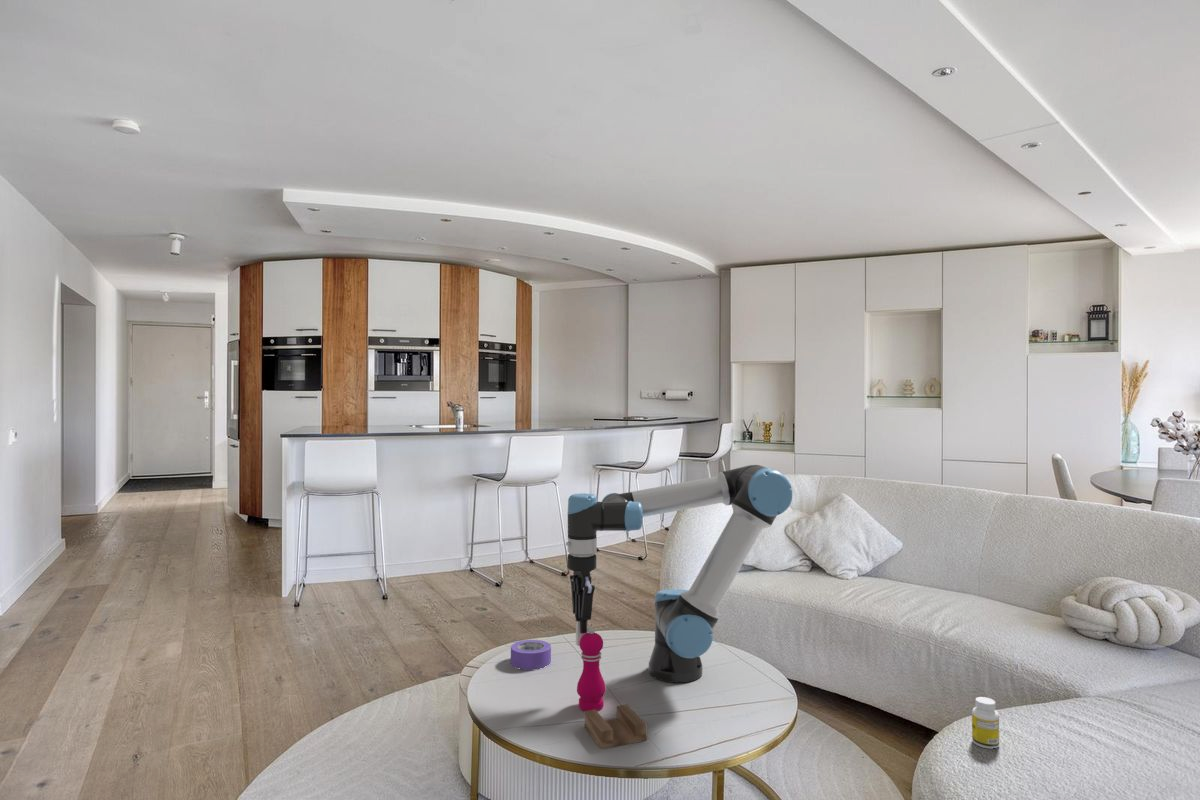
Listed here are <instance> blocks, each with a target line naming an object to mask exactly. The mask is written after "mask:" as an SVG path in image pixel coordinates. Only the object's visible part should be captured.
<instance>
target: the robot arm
mask: <svg viewBox="0 0 1200 800" xmlns="http://www.w3.org/2000/svg"><path fill="white" fill-rule="evenodd" d="M792 500H793V487H792V485H791V482H790V480H789V479H788V478H787V477H786V476H785V475H784V474H783V473H781V472H779V470H776V469H773V468H771V467H766V466H763V465H759V464H750V465H745V466H742V467H736V468H733V469H729V470H724V471H719V472H718V474H717V475H716V476H712V477H705V478H700V479H694V480H687V481H684V482H683V481H682V482H678V483H673V484H667V485H666V484H665V485H662V486H661V485H660V486H657V487H655V486H654V487H651V488H645V489H639V490H634V491H628V492H622V493H617V492H612V493H609V494H607V495H605V496H604V497H603V498H602V500H601V501H598V499H597V496H596V495H595V494H593V493H583V492H582V493H574V494H571V495H570V496H569V497H568V499H567V501H568V502H567V542H566V543H565V545H566V546H567V552H568V554H567V569H568V570H570V571H572V572H573V575H569V581H570V589H571V590H570V591H571V602H572V603H571V604H572V613H573V614H574V617H575V645H576V646H578V647H580V646H579V642H580V639H581V637H582V636H583V635H584V634H586V633H588V628H589V625H588V622H589V621H590V620H592V611H593V604H594V603H593V600H594V593H595V589H596V587H595V585H591V584H592V576H591V572H592V571H594V570H596V568H597V555H596V553H597V548H598V547H597V544H598V542H597V538H598V537H597V532H604V531H605V532H607V531H609V532H610V531H611V532H612V531H615V532H617V531H618V532H623V531H624V532H625V531H626V532H631V531H640V530H641V529H642V527H643V524H644V523H643V520H644V517H651V516H655V515H661V514H667V513H672V512H679V511H683V510H690V509H695V508H700V507H705V506H706V507H707V506H710V505H717V504H723V505H725V506H731V508H732V514H731V515H730V518H729V520H728V521H727V523H726V524H725V527H723V530H722V532H721V533H720V535H719V537H718V539H717V541H716V543H715V544H714V546H713V548H712V549H711V551H710V552H709V555H708V557H707V558H706V560H705V562H704V564H703V565H702V566H701V569H700V571H699V573H698V574H697V576H696V577H695V580H694V581H693V583H692V585H691V587H690V588H689V589H676V588H674V589H662V590H658V591H657V592H656V593H655V595H654V601H653V603H654V646H653V649H652V652H651V656H650V659H649V661H648V673H649V675H650V676H652V677H653V678H654V679H657V680H660V681H663V682H668V683H689V682H693V681H696V680H698V679H700V678H701V677H702V676H703V663H702V659H701V656H702V655H704V654H705V653H707V652H708V650H709V649H711V648H710V647H711V646H712V644H713V639H714V638H713V637H714V636H713V635H714V632H713V630H714V628H715V626H716V625H717V623H718V621H719V619H720V613H719V610H718V609H719V607H720V604H721V603H722V602H723V599H724V598H725V595H726V594H727V592H728V591H729V589H730V587H731V586H732V583H733V582H734V580H735V579H736V576H737V575H738V573H739V571H740V570H741V568H742V565H743V564H744V562H745V560H746V559H747V557H748V555H749V553H750V551H751V550H752V548H753V547H754V545H755V542H756V541H757V539H758V537H759V535H760V533H762V530H763V529H766V528H770V527H771V526H772V525H773V523H774V521H775V519H776V518H777V517H778V516H780V515H781V514H783V513H785V511H787V510H788V508H789V507H790V505H791V503H792Z"/></svg>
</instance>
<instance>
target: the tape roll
mask: <svg viewBox="0 0 1200 800" xmlns="http://www.w3.org/2000/svg"><path fill="white" fill-rule="evenodd" d="M550 663H552V645H551V644H550V643H549V642H548V641H546V640H540V639H525V640H520V641H515V642H514V643H512V644H511V645H510V665H511V667H513V666H514V667H513V668H515V667H516V668H515V669H517V668H520V669H519V670H522V669H524V670H523V671H533V670H532V669H537V670H541V669H540V668H542V669H545V668H546V667H545V666H547V665H549V664H550ZM550 665H551V664H550ZM550 665H549V666H550ZM544 667H545V668H544ZM547 667H548V666H547ZM525 669H526V670H525Z"/></svg>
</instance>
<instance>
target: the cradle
mask: <svg viewBox="0 0 1200 800" xmlns="http://www.w3.org/2000/svg"><path fill="white" fill-rule="evenodd" d="M583 726H584V729H585V730H586V731H587V732H588V735H590V736H591V738H592V739H593V741H595V743H596V744H597V745H598V747H599V748H600V749H602V750H604V749H608V748H614V747H618V746H619V747H620V746H623V745H624V746H625V745H629V744H634V743H639V742H644V741H647V740H648V739H647V738H648V737H647V722H646V721H644V720H643V718H642V717H641V716H640V715H638V714H637V713H636V711H635V710H634V709H633V708H631V706H630V705H628V703H626V704H620V705H619V704H618V705H616V718H609V719H604V717H603V716H602V715H601V714H600V713H599V711H596V710H589V711H584V725H583Z"/></svg>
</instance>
